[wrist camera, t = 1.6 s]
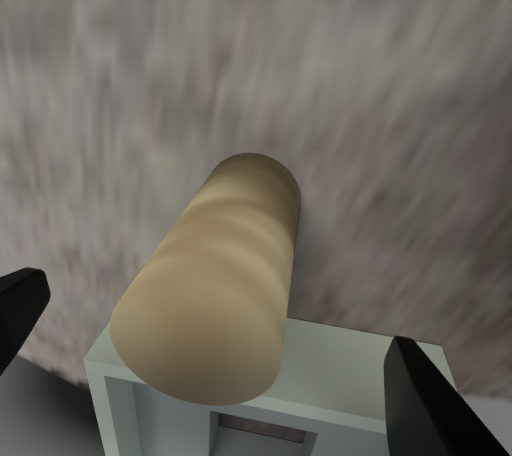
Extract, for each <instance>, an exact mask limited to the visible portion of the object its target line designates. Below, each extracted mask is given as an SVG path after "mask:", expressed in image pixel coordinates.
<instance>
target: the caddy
mask: <svg viewBox="0 0 512 456" xmlns="http://www.w3.org/2000/svg"><path fill="white" fill-rule="evenodd" d="M393 338H394V337H389V336H384V335H378V334H373V333H368V332H362V331H357V330H351V329H346V328H340V327H335V326H330V325H324V324H319V323H313V322H308V321H302V320H297V319H291V318H286V326H285V335H284V343H283V351H282V359H281V368H280V371H279V374H278V376H277V378H276V380H275V382H274V383H273V384H272V386H271V387H270V388H269V389H268V390H267V391H265V392H264V393H263V394H261V395H260V396H258V397H256V398H254V399H252V400H250V401H247V402H243V403H240V404H235V405H227V406H209V405H200V404H194V403H190V402H186V401H182V400H179V399H176V398H174V397H171V396H169V395H166V394H164V393H162V392H160V391H158V390H156V389H155V388H153V387H151V386H150V385H148V384H147V383H145V382H144V381H143V380H141V379H140V378H139V377H137V376H136V375H135V374H134V373H133V372H132V371H131V370H130V369H129V368H128V367H127V366H126V365H125V363H124V362H123V361H122V359H121V358H120V357H119V355H118V353H117V351H116V350H115V347H114V345H113V343H112V339H111V335H110V322H109V323H108V325H107V326H106V327H105V329H104V330H103V332H102V333H101V335H100V336H99V337H98V339H97V340H96V342H95V343H94V344H93V346H92V347H91V349H90V350H89V352H88V353H87V354H86V356H85V357H84V359H83V361H84V365H85V369H86V374H87V378H88V382H89V386H90V391H91V395H92V399H93V404H94V408H95V412H96V416H97V421H98V425H99V429H100V434H101V438H102V442H103V446H104V451H105V455H106V456H390V455H389V448H388V442H387V434H386V420H385V395H384V370H383V366H384V359H385V356H386V354H387V351H388V349H389V346H390V344H391V342H392V339H393ZM415 342H416V341H415ZM416 343H417V344H418V345H419V346H420V348H421V349H422V350H423V351H424V352H425V354H426V355H427V356H428V357H429V358H430V360H431V361H432V362H433V363H434V364H435V366H436V367H437V368H438V369H439V371H440V372H441V373H442V374H443V375H444V377H445V378H446V379H447V380H448V381H449V383H450V384H451V385H452V386H453V387H454V389H455V390H456V391H457V389H456V386H455V383H454V380H453V378H452V375H451V372H450V369H449V367H448V364H447V361H446V358H445V356H444V353H443V350H442V347H441V346H438V345H433V344H427V343H422V342H416ZM457 392H458V391H457ZM219 413H224V414H229V415H234V416H238V417H243V418H248V419H252V420H257V421H262V422H267V423H271V424H276V425H281V426H286V427H290V428H295V429H300V430H304V431H306V434H305V438H304V441H303V444H302V443H297V442H292V441H288V440H283V439H278V438H274V437H269V436H264V435H260V434H255V433H250V432H246V431H241V430H237V429H232V428H227V427H223V426H218V422H219Z"/></svg>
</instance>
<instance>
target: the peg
mask: <svg viewBox="0 0 512 456" xmlns="http://www.w3.org/2000/svg"><path fill="white" fill-rule="evenodd" d="M300 202H301V200H300V191H299V188H298V185H297V182H296V180H295V178H294V177H293V175H292V174H291V173H290V171H289V170H288V169H287V168H286V167H285V166H283V165H282V164H281V163H280V162H278V161H276V160H275V159H273V158H271V157H268V156H265V155H261V154H256V153H243V154H237V155H234V156H231V157H229V158H227V159H225V160H224V161H222V162H221V163H220V164H219V165H218V166H217V167H216V168H215V169H214V170H213V171H212V173H211V174H210V176H209V177H208V178H207V180H206V181H205V183H204V184H203V185H202V187H201V188H200V189H199V191H198V192H197V194H196V195H195V196H194V198H193V199H192V200H191V202H190V203H189V205H188V206H187V207H186V209H185V210H184V211H183V213H182V214H181V216H180V217H179V218H178V220H177V221H176V222H175V224H174V225H173V227H172V228H171V229H170V231H169V232H168V234H167V235H166V236H165V238H164V239H163V240H162V242H161V243H160V245H159V246H158V247H157V249H156V250H155V251H154V253H153V254H152V256H151V257H150V258H149V260H148V261H147V262H146V264H145V265H144V267H143V268H142V269H141V271H140V272H139V274H138V275H137V276H136V278H135V279H134V280H133V282H132V283H131V285H130V286H129V287H128V289H127V290H126V291H125V293H124V294H123V296H122V297H121V298H120V300H119V301H118V302H117V304H116V306H115V307H114V309H113V311H112V315H111V318H110V335H111V339H112V343H113V345H114V347H115V350H116V351H117V353H118V355H119V357H120V358H121V359H122V361H123V362H124V363H125V365H126V366H127V367H128V368H129V369H130V370H131V371H132V372H133V373H134V374H135V375H136V376H137V377H139V378H140V379H141V380H143V381H144V382H145V383H147V384H148V385H150V386H151V387H153V388H155V389H156V390H158V391H160V392H162V393H164V394H166V395H169V396H171V397H174V398H176V399H179V400H182V401H186V402H190V403H194V404H200V405H209V406H227V405H235V404H240V403H243V402H247V401H250V400H252V399H254V398H256V397H258V396H260V395H261V394H263V393H264V392H265V391H267V390H268V389H269V388H270V387H271V386H272V384H273V383H274V382H275V380H276V378H277V376H278V374H279V371H280V368H281V359H282V351H283V343H284V335H285V326H286V318H287V310H288V302H289V293H290V285H291V277H292V269H293V260H294V252H295V244H296V236H297V227H298V219H299V211H300Z"/></svg>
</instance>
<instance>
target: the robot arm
mask: <svg viewBox="0 0 512 456" xmlns="http://www.w3.org/2000/svg"><path fill="white" fill-rule="evenodd" d="M50 296H51V293H50V289H49V285H48V282H47V278H46V274H45V272H44V271H43V270H41V269H35V268H30V267H27V268H23V269H21V270H18V271H15V272H13V273H10V274H8V275H5V276H2V277H0V376H1V375H2V373H3V372H4V371H5V369H6V368H7V367H8V365H9V364H10V363H11V361H12V360H13V358H14V357H15V356H16V354H17V353H18V351H19V350H20V348H21V347H22V345H23V344H24V342H25V340H26V339H27V337H28V335H29V334H30V332H31V331H32V329H33V327H34V326H35V324H36V322H37V321H38V319H39V318H40V316H41V314H42V313H43V311H44V309H45V308H46V306H47V304H48V303H49V300H50ZM383 370H384V395H385V420H386V434H387V442H388V448H389V455H390V456H510V455H509V454H508V452H507V451H506V450H505V449H504V448H503V446H502V445H501V444H500V443H499V442H498V440H497V439H496V438H495V437H494V436H493V434H492V433H491V432H490V431H489V430H488V428H487V427H486V426H485V425H484V424H483V422H482V421H481V420H480V419H479V418H478V416H477V415H476V414H475V413H474V411H473V410H472V409H471V408H470V407H469V406H468V404H467V403H466V402H465V401H464V399H463V398H462V397H461V396H460V395H459V393H458V392H457V391H456V390H455V389H454V387H453V386H452V385H451V384H450V383H449V381H448V380H447V379H446V378H445V377H444V375H443V374H442V373H441V372H440V371H439V369H438V368H437V367H436V366H435V364H434V363H433V362H432V361H431V360H430V358H429V357H428V356H427V355H426V354H425V352H424V351H423V350H422V349H421V348H420V346H419V345H418V344H417V343H416V342H415V341H414V340H413V339H411V338H407V337H402V336H395V337H394V338H393V339H392V342H391V344H390V346H389V349H388V351H387V354H386V356H385V359H384V366H383Z"/></svg>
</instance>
